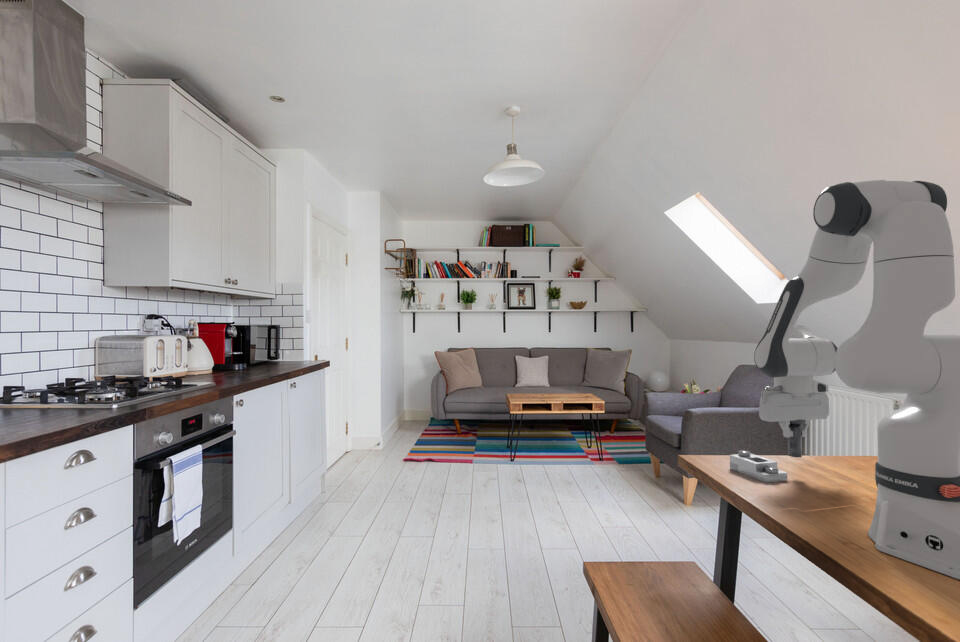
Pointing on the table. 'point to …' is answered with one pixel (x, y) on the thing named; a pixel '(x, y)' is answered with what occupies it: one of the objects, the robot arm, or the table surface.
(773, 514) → the table surface
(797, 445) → the pin
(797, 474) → the table surface
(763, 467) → the slotted ball-knob block
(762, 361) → the robot arm
